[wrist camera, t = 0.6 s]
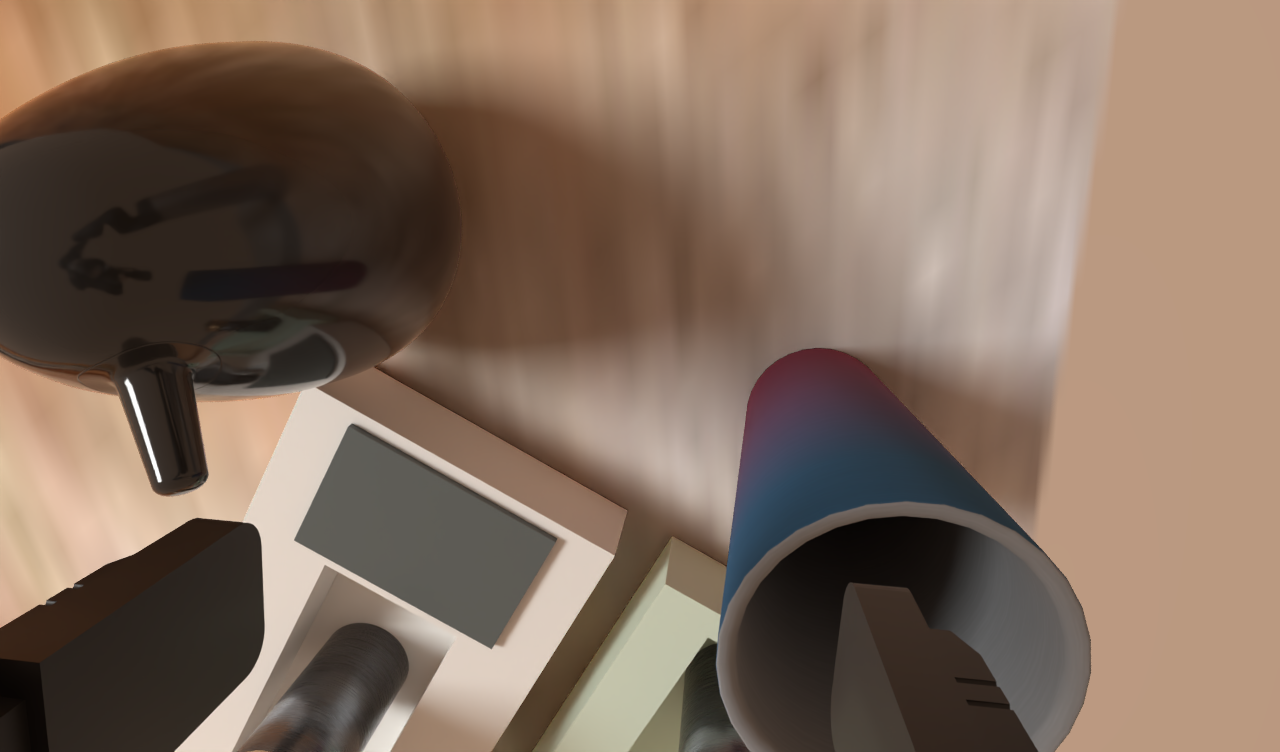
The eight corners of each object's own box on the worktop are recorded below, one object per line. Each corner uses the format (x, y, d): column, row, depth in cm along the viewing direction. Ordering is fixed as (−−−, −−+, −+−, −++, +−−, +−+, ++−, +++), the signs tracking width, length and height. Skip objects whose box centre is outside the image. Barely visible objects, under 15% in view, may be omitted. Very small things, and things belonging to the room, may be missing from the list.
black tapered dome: (314, 392, 31) (-46, 606, 17) (169, 138, 29) (-386, 130, 15) (545, 286, 29) (365, 424, 15) (407, 4, 27) (36, -162, 13)
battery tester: (352, 355, 31) (300, 384, 27) (627, 510, 31) (613, 559, 28) (195, 693, 36) (133, 757, 32) (433, 821, 36) (400, 898, 33)
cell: (344, 606, 33) (174, 809, 23) (424, 650, 33) (290, 870, 23) (310, 671, 34) (134, 893, 24) (388, 713, 34) (245, 950, 24)
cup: (719, 325, 29) (710, 502, 15) (916, 320, 28) (1111, 501, 14) (724, 501, 31) (720, 811, 16) (909, 500, 30) (1075, 826, 16)
